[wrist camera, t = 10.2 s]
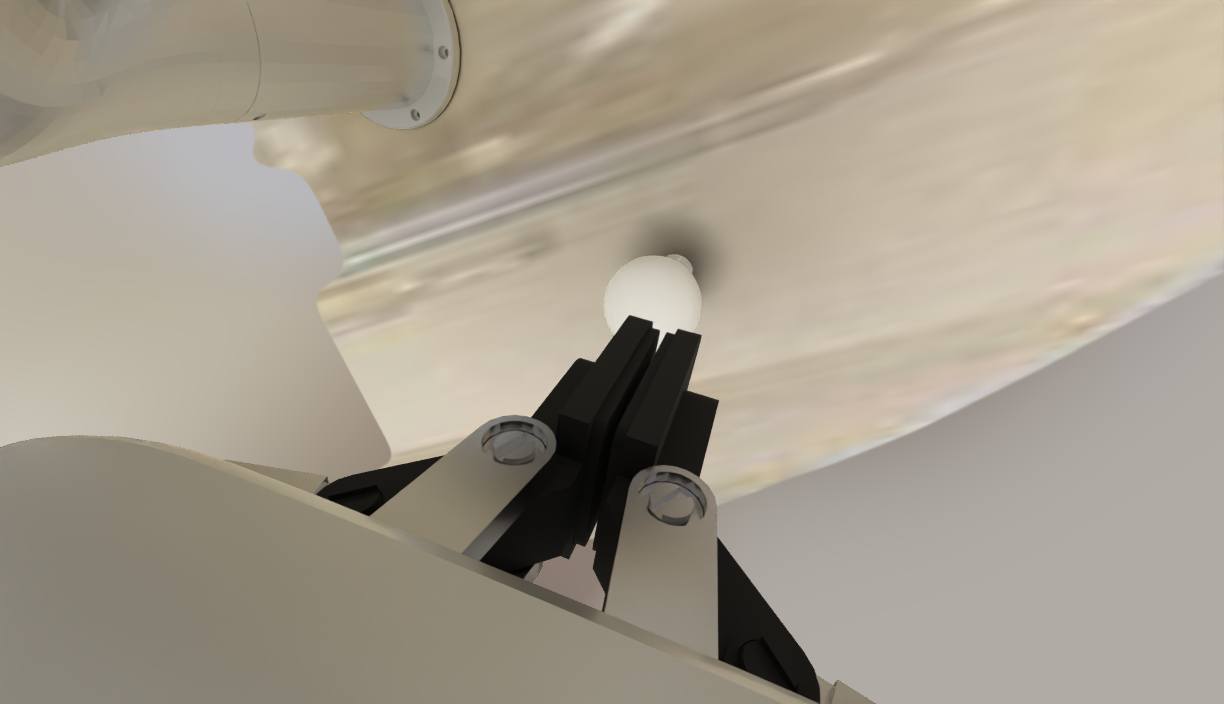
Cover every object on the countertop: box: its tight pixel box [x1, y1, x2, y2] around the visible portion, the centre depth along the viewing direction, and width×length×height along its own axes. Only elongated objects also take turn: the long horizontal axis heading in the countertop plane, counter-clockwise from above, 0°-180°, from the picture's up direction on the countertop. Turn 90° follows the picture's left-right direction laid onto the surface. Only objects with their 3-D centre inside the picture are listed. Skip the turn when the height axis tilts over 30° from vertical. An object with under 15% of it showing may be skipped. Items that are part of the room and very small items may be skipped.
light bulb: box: [603, 254, 702, 352], centre depth 36 cm, size 7×7×11 cm
